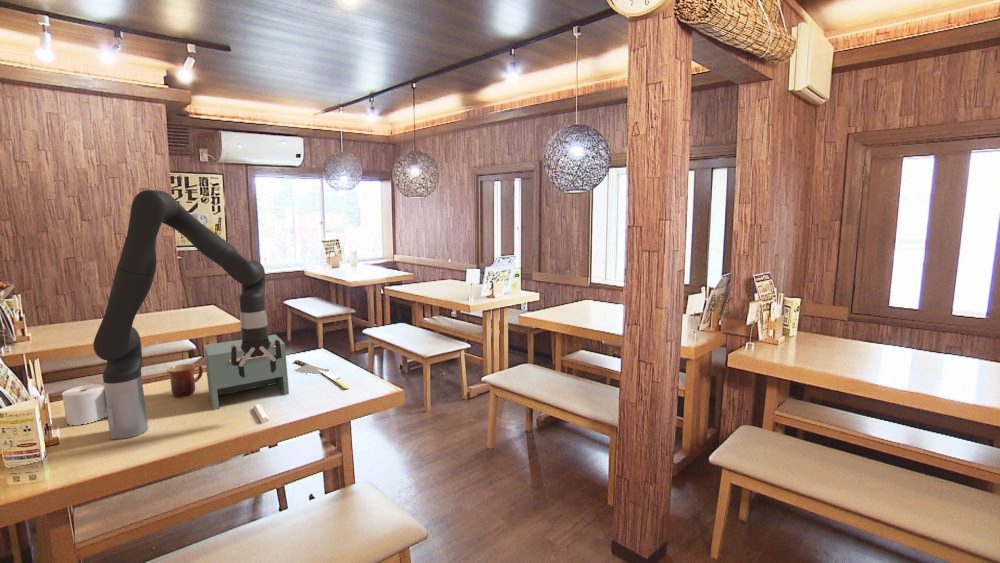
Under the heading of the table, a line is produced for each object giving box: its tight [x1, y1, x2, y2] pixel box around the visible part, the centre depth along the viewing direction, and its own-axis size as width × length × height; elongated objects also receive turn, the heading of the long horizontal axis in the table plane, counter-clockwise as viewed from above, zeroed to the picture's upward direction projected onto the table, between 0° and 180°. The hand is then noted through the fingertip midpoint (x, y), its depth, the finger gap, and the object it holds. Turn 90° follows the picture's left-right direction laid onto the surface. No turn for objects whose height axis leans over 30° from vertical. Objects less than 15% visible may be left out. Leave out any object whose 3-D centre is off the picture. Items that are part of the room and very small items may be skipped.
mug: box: [166, 363, 204, 398], centre depth 187 cm, size 12×9×10 cm
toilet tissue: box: [61, 383, 108, 426], centre depth 166 cm, size 11×12×10 cm
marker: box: [253, 403, 270, 424], centre depth 167 cm, size 3×2×16 cm
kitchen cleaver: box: [293, 359, 330, 375], centre depth 213 cm, size 24×1×10 cm
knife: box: [318, 370, 351, 390], centre depth 202 cm, size 1×34×5 cm
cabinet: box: [203, 333, 290, 411], centre depth 183 cm, size 24×16×19 cm
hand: (258, 374), depth 162 cm, fingers open, 8 cm apart
